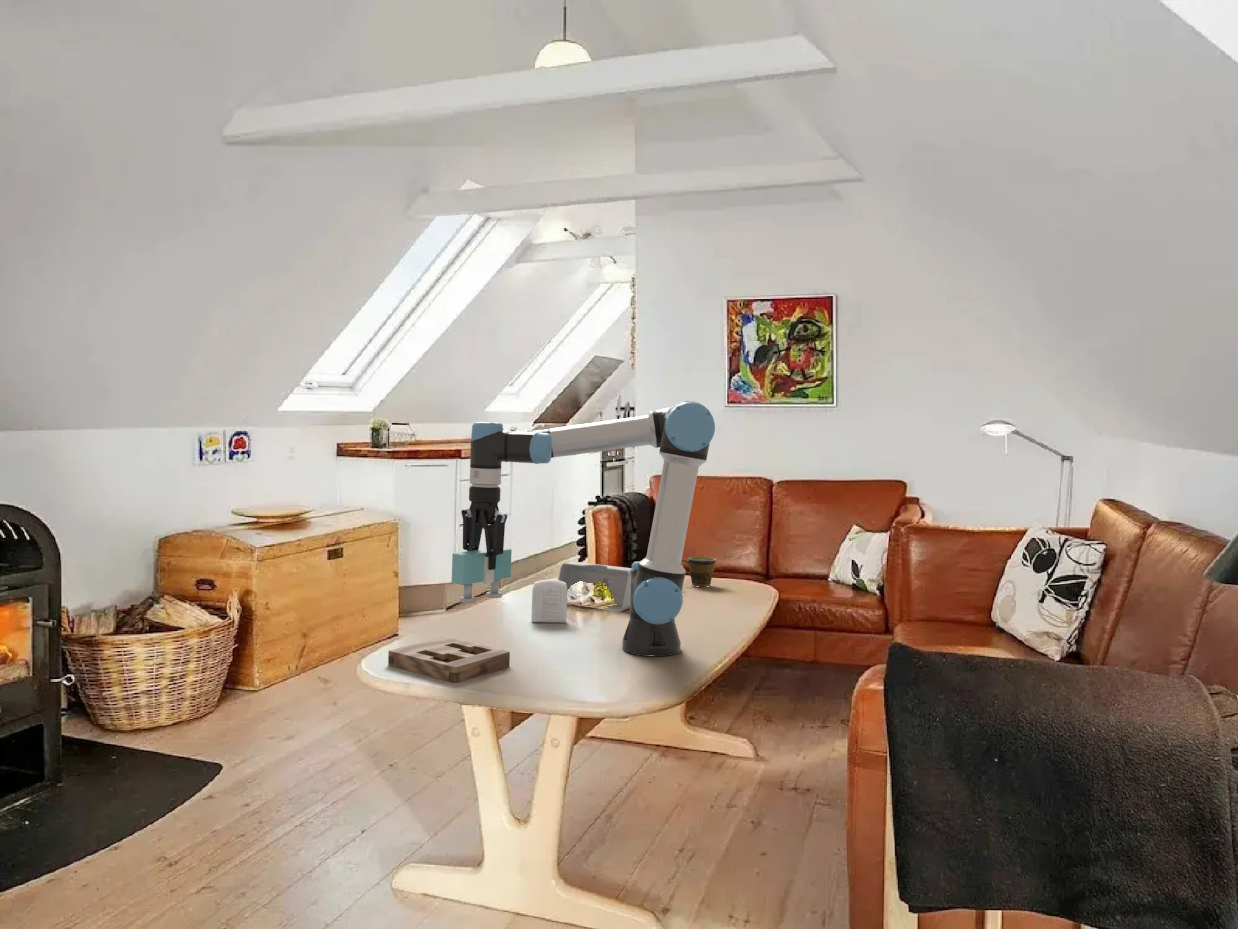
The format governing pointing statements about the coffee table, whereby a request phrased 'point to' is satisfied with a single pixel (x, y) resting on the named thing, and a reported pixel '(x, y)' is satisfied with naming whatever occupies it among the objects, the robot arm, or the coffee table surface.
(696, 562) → the ceramic cup
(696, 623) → the coffee table surface
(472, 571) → the block with headed pegs
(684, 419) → the robot arm
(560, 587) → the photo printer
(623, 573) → the grey storage bin
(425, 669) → the keyhole board
